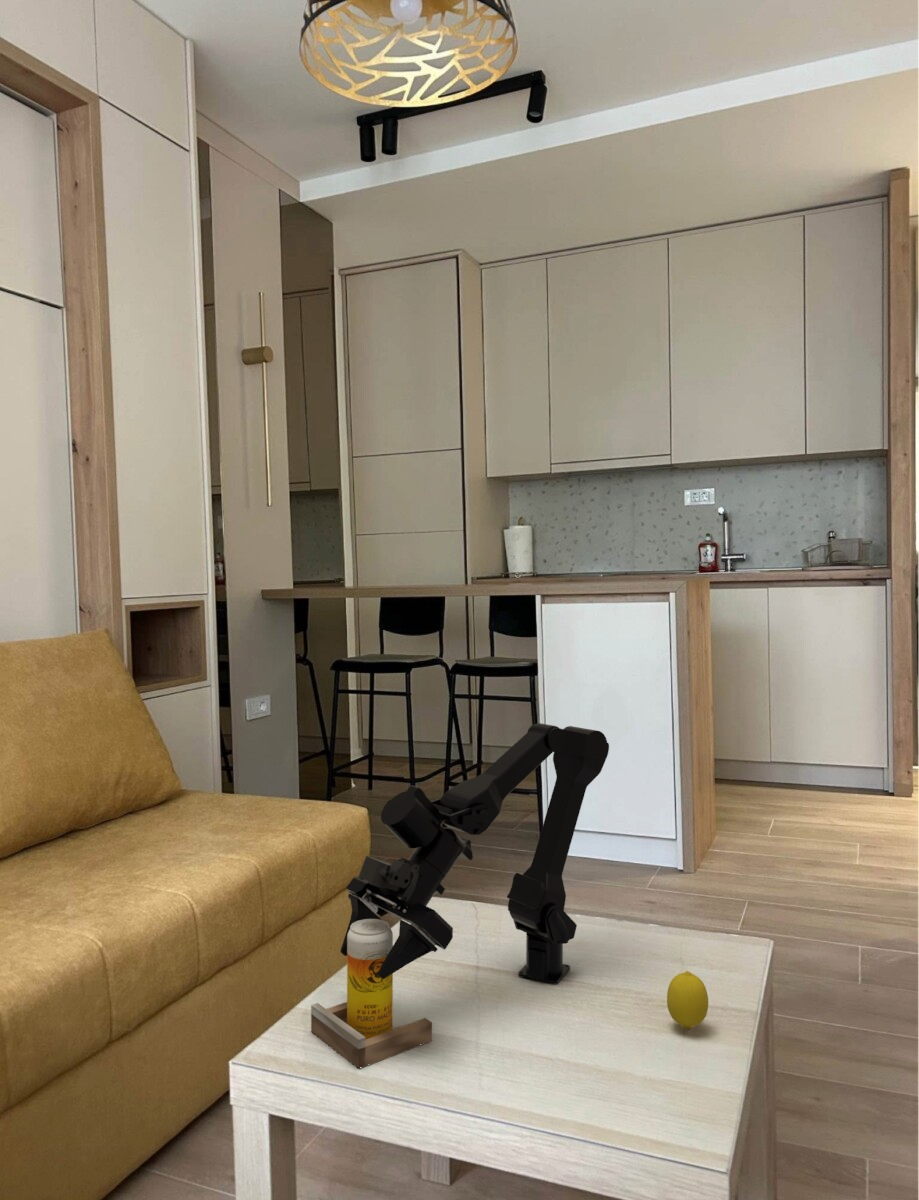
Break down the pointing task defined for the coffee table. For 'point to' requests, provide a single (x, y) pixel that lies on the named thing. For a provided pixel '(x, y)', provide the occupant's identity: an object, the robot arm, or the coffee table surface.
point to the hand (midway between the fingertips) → (360, 965)
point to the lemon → (687, 1000)
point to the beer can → (369, 977)
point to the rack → (354, 1046)
